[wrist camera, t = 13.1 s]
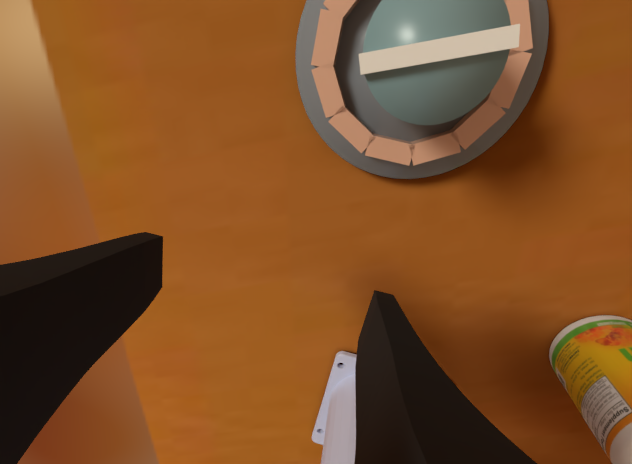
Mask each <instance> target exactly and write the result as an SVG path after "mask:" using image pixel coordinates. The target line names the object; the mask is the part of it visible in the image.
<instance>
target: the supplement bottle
mask: <svg viewBox="0 0 632 464" xmlns="http://www.w3.org/2000/svg"><path fill="white" fill-rule="evenodd" d="M549 359H550V363H551V366H552V368H553V370H554V372H555V373H556V375H557V377H558V379H559V380H560V382H561V383H562V385H563V386H564V388H565V390H566V391H567V393H568V394H569V396H570V397H571V399H572V401H573V402H574V404H575V406H576V407H577V409H578V410H579V412H580V414H581V415H582V417H583V418H584V420H585V422H586V423H587V425H588V426H589V428H590V429H591V431H592V433H593V434H594V436H595V437H596V439H597V440H598V442H599V444H600V445H601V447H602V448H603V450H604V452H605V453H606V455H607V456H608V458H609V460H610V461H611V463H612V464H632V320H629V319H627V318H624V317H619V316H612V315H599V316H592V317H588V318H584V319H581V320H578V321H576V322H574V323H572V324H570V325H568V326H567V327H565V328H564V329H563V330H562V331H561V332H559V333H558V335H557V336H556V337H555V339H554V340H553V342H552V344H551V347H550V351H549Z"/></svg>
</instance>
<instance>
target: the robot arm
mask: <svg viewBox="0 0 632 464" xmlns="http://www.w3.org/2000/svg"><path fill="white" fill-rule="evenodd" d="M162 257H163V236H159V235H155V234H151V233H147V232H143V233H138V234H133V235H128V236H124V237H120V238H117V239H113V240H109V241H105V242H101V243H98V244H94V245H90V246H87V247H83V248H79V249H75V250H70V251H66V252H63V253H58V254H53V255H49V256H45V257H41V258H36V259H31V260H26V261H21V262H15V263H9V264H3V265H0V464H17V463H18V461H19V460H20V458H21V457H22V456H23V454H24V453H25V452H26V450H27V449H28V447H29V446H30V444H31V443H32V442H33V440H34V438H35V437H36V436H37V435H38V433H39V432H40V431H41V429H42V428H43V426H44V425H45V424H46V423H47V421H48V420H49V419H50V417H51V416H52V415H53V414H54V412H55V411H56V410H57V408H58V407H59V406H60V404H61V403H62V402H63V400H64V399H65V398H66V397H67V395H68V394H69V393H70V392H71V390H72V389H73V388H74V387H75V385H76V384H77V383H78V382H79V380H80V379H81V378H82V377H83V375H84V374H85V373H86V372H87V371H88V370H89V368H91V367H92V365H93V364H94V363H95V362H96V361H97V360H98V359H99V358H100V357H101V356H102V355H103V354H104V353H105V352H106V351H107V350H108V349H109V348H110V347H111V346H112V345H113V344H114V343H115V342H116V341H117V340H118V339H119V338H120V336H121V335H122V334H123V333H124V332H125V331H126V330H127V329H128V328H129V327H130V326H131V325H132V324H133V323H134V322H135V321H136V320H137V319H138V318H139V317H140V316H141V315H142V314H143V312H144V311H145V310H146V309H147V308H148V306H149V305H150V304H151V302H152V301H153V300H154V298H155V297H156V295H157V294H158V292H159V291H160V290H161V288H162ZM339 363H343V364H339ZM312 440H313V441H314V442H315V443H318V444H322V445H323V452H322V459H321V464H537V463H535V462H534V461H533V460H532V459H531V458H530V457H528V456H527V455H526V454H525V453H524V452H523V451H522V450H520V449H519V448H518V447H517V446H516V445H515V444H514V443H512V442H511V441H510V440H509V439H508V438H507V437H506V436H505V435H503V434H502V433H501V432H500V431H499V430H498V429H497V428H496V427H495V426H494V425H493V424H492V423H491V422H490V421H489V420H488V419H487V418H486V417H485V416H484V415H483V414H482V413H481V412H480V411H479V410H478V409H477V408H476V407H475V406H474V405H473V404H472V403H471V402H470V401H469V400H468V399H467V398H466V397H465V396H464V395H463V394H462V393H461V391H460V390H459V389H458V388H457V387H456V386H455V384H454V383H453V382H452V381H451V380H450V379H449V377H448V376H447V375H446V374H445V373H444V371H443V370H442V369H441V368H440V366H439V365H438V364H437V362H436V361H435V360H434V358H433V357H432V356H431V354H430V353H429V352H428V350H427V349H426V347H425V346H424V344H423V343H422V342H421V340H420V339H419V337H418V336H417V334H416V332H415V331H414V329H413V328H412V326H411V324H410V323H409V321H408V319H407V318H406V316H405V314H404V313H403V311H402V309H401V307H400V306H399V304H398V302H397V301H396V299H395V297H394V296H393V295H391V294H387V293H383V292H379V291H374V294H373V297H372V300H371V303H370V306H369V309H368V312H367V315H366V318H365V321H364V324H363V327H362V330H361V333H360V336H359V340H358V348H357V355H356V354H353V353H349V352H345V351H340V352H338V353H337V354H336V357H335V360H334V363H333V367H332V370H331V373H330V377H329V380H328V383H327V387H326V390H325V393H324V397H323V400H322V403H321V407H320V410H319V413H318V417H317V420H316V423H315V427H314V430H313V433H312Z"/></svg>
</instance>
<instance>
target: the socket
mask: <svg viewBox="0 0 632 464" xmlns="http://www.w3.org/2000/svg"><path fill="white" fill-rule="evenodd" d="M381 1H382V0H307V1H306V4H305V7H304V10H303V13H302V16H301V20H300V25H299V29H298V34H297V43H296V74H297V81H298V87H299V91H300V95H301V99H302V102H303V105H304V107H305V110H306V112H307V115H308V117H309V119H310V120H311V122H312V124H313V126H314V128H315V129H316V131H317V132H318V133H319V135H320V136H321V138H322V139H323V140H324V141H325V142H326V143H327V145H328V146H329V147H330V148H331V149H332V150H333V151H334V152H336V153H337V154H338V155H339V156H340V157H342V158H343V159H344V160H346V161H348V162H349V163H351V164H352V165H354V166H356V167H358V168H360V169H362V170H364V171H367V172H369V173H373V174H376V175H379V176H384V177H390V178H398V179H414V178H424V177H429V176H434V175H439V174H442V173H444V172H447V171H450V170H453V169H455V168H457V167H460V166H462V165H464V164H466V163H468V162H469V161H471V160H473V159H474V158H476V157H478V156H479V155H481V154H482V153H483V152H485V151H486V150H487V149H488V148H490V147H491V146H492V145H494V144H495V143H496V142H497V141H498V140H499V139H500V138H501V137H502V136H503V135H504V134H505V133H506V132H507V131H508V129H509V128H510V127H511V126H512V124H513V123H514V122H515V121H516V120H517V118H518V117H519V115H520V114H521V112H522V111H523V109H524V108H525V106H526V105H527V103H528V101H529V99H530V97H531V95H532V93H533V91H534V89H535V87H536V84H537V82H538V79H539V76H540V74H541V71H542V68H543V64H544V59H545V55H546V51H547V43H548V34H549V12H548V5H547V0H504V1H505V4H506V6H507V9H508V12H509V16H510V22H511V25H516V24H520V36H519V47H517V48H513V49H510V51H509V55H508V59H507V62H506V65H505V68H504V70H503V72H502V74H501V76H500V78H499V80H498V82H497V83H496V85H495V86H494V88H493V89H492V90H491V92H490V93H489V94H488V95H487V97H486V98H485V99H484V100H483V101H482V102H481V103H480V104H478V105H477V106H476V107H475V108H473V109H472V110H471V111H469V112H468V113H466V114H464V115H463V116H461V117H459V118H456V119H454V120H452V121H449V122H446V123H441V124H436V125H417V124H412V123H408V122H405V121H402V120H400V119H398V118H396V117H394V116H393V115H391V114H390V113H388V112H387V111H386V110H385V109H384V108H383V107H382V106H381V105H380V104H379V103H378V102H377V100H376V99H375V98H374V96H373V94H372V93H371V91H370V88H369V86H368V84H367V81H366V77H365V74H364V75H361V74H360V64H359V54H360V53H363V44H364V39H365V34H366V31H367V28H368V25H369V22H370V20H371V18H372V16H373V13H374V12H375V10H376V8H377V7H378V5H379V3H380V2H381Z"/></svg>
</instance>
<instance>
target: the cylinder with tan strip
mask: <svg viewBox="0 0 632 464" xmlns="http://www.w3.org/2000/svg"><path fill="white" fill-rule="evenodd" d="M519 36H520V24H516V25H511V22H510V16H509V12H508V9H507V6H506V4H505V1H504V0H382V1H381V2H380V3H379V5H378V7H377V8H376V10H375V12H374V13H373V16H372V18H371V20H370V22H369V25H368V28H367V31H366V34H365V39H364V44H363V53H360V54H359V64H360V74H361V75H364V74H365V77H366V81H367V84H368V86H369V88H370V91H371V93H372V94H373V96H374V98H375V99H376V100H377V102H378V103H379V104H380V105H381V106H382V107H383V108H384V109H385V110H386V111H387V112H388V113H390V114H391V115H393V116H394V117H396V118H398V119H400V120H402V121H405V122H408V123H412V124H417V125H436V124H441V123H446V122H449V121H452V120H454V119H456V118H459V117H461V116H463V115H464V114H466V113H468V112H469V111H471V110H472V109H473V108H475V107H476V106H477V105H478V104H480V103H481V102H482V101H483V100H484V99H485V98H486V97H487V95H488V94H489V93H490V92H491V90H492V89H493V88H494V86H495V85H496V83H497V82H498V80H499V78H500V76H501V74H502V72H503V70H504V68H505V65H506V62H507V59H508V55H509V51H510V49H513V48H517V47H519Z"/></svg>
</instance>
